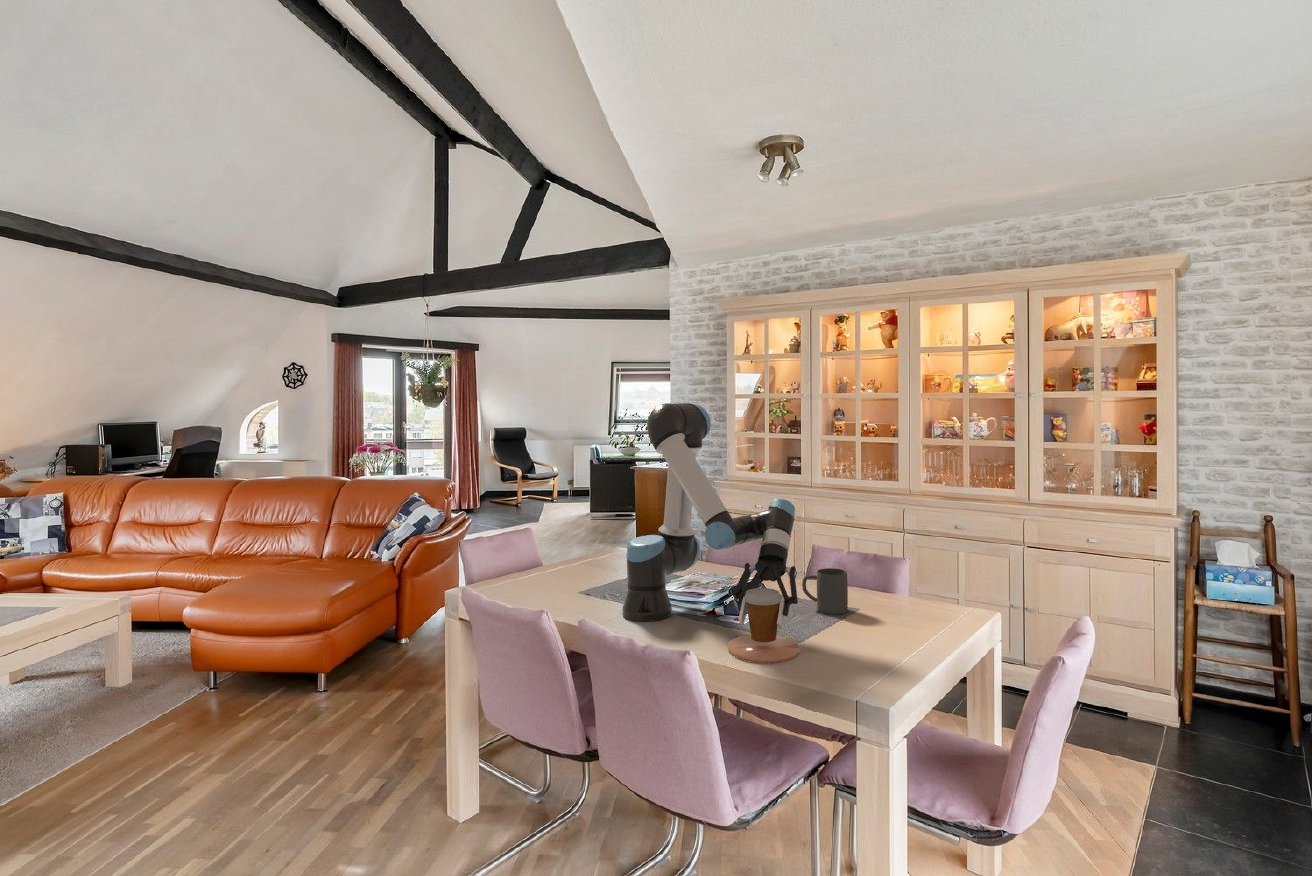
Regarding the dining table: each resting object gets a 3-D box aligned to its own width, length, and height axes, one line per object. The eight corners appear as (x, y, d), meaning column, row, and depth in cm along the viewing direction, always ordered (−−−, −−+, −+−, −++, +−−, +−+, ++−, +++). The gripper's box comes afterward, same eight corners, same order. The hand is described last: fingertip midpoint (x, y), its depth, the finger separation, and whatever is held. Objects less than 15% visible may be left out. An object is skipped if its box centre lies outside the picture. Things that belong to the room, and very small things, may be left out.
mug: (849, 607, 211) (848, 569, 210) (846, 616, 202) (845, 576, 202) (804, 604, 216) (804, 566, 215) (800, 612, 207) (799, 573, 207)
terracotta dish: (713, 650, 175) (713, 645, 175) (759, 634, 187) (759, 629, 187) (768, 669, 162) (768, 664, 162) (813, 650, 174) (813, 645, 174)
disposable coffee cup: (782, 645, 169) (781, 598, 168) (743, 644, 171) (742, 596, 170) (782, 633, 178) (782, 588, 178) (746, 631, 180) (745, 587, 180)
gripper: (816, 559, 183) (805, 636, 169) (738, 554, 192) (722, 627, 178) (812, 544, 178) (801, 621, 164) (732, 539, 187) (715, 612, 173)
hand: (759, 624), depth 171 cm, fingers closed on disposable coffee cup, 9 cm apart
